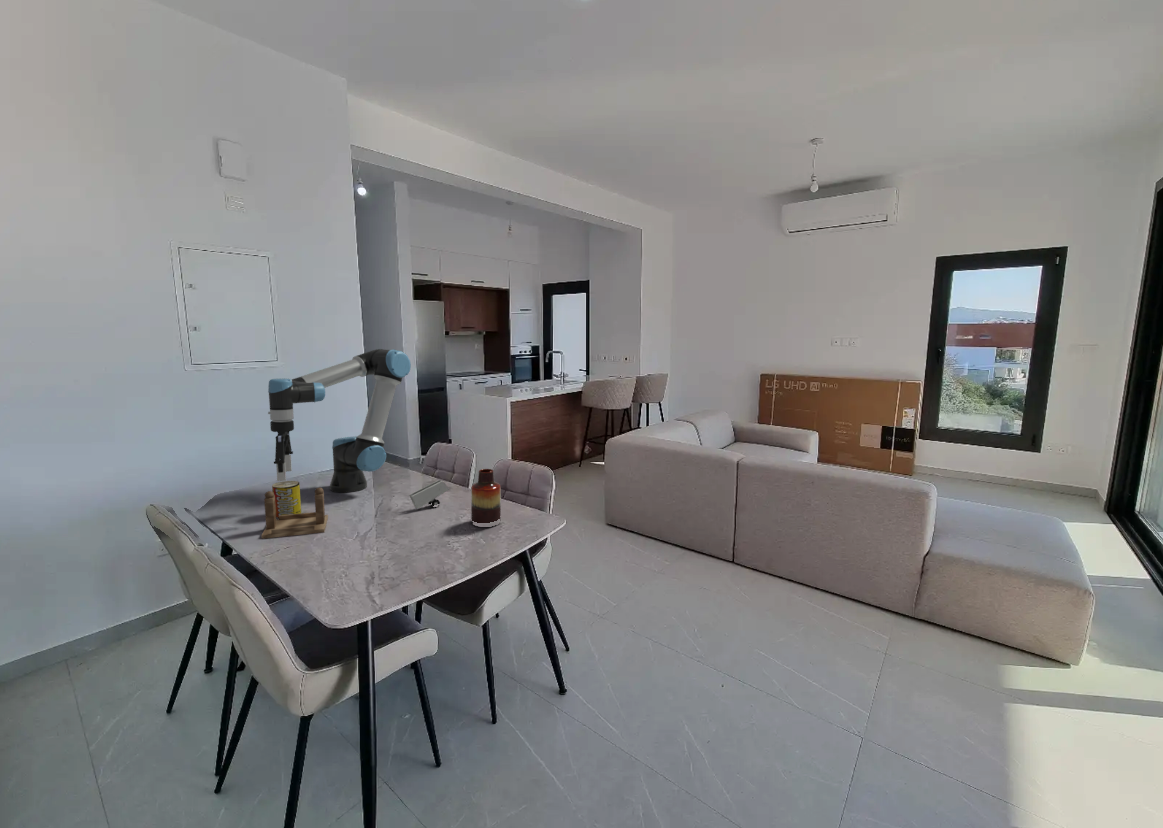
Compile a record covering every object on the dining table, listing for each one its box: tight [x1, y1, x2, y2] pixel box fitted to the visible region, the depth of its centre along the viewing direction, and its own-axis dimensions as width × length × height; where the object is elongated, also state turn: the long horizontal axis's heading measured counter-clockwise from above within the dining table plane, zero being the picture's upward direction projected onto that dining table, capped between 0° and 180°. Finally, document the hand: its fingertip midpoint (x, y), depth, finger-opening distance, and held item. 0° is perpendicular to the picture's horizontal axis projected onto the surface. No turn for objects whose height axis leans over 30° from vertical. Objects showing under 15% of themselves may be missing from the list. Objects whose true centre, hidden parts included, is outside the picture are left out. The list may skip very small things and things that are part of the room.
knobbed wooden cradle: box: [260, 487, 329, 540], centre depth 182 cm, size 19×15×14 cm
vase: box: [470, 468, 502, 523], centre depth 192 cm, size 11×11×20 cm
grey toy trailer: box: [408, 479, 450, 510], centre depth 208 cm, size 4×10×15 cm
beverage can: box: [271, 480, 302, 519], centre depth 195 cm, size 9×9×12 cm
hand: (284, 475), depth 193 cm, fingers open, 13 cm apart
